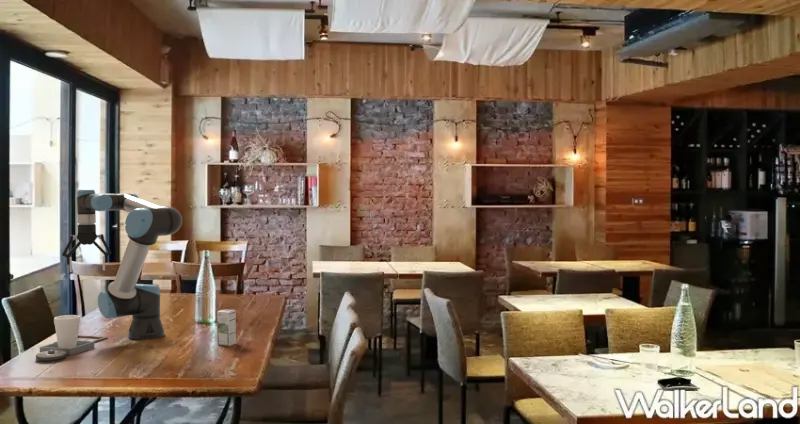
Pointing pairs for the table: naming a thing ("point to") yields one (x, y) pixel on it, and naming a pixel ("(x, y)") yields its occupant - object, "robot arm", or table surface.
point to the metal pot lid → (51, 356)
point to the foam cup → (67, 330)
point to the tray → (79, 348)
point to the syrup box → (226, 327)
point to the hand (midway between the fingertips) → (87, 271)
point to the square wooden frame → (100, 338)
